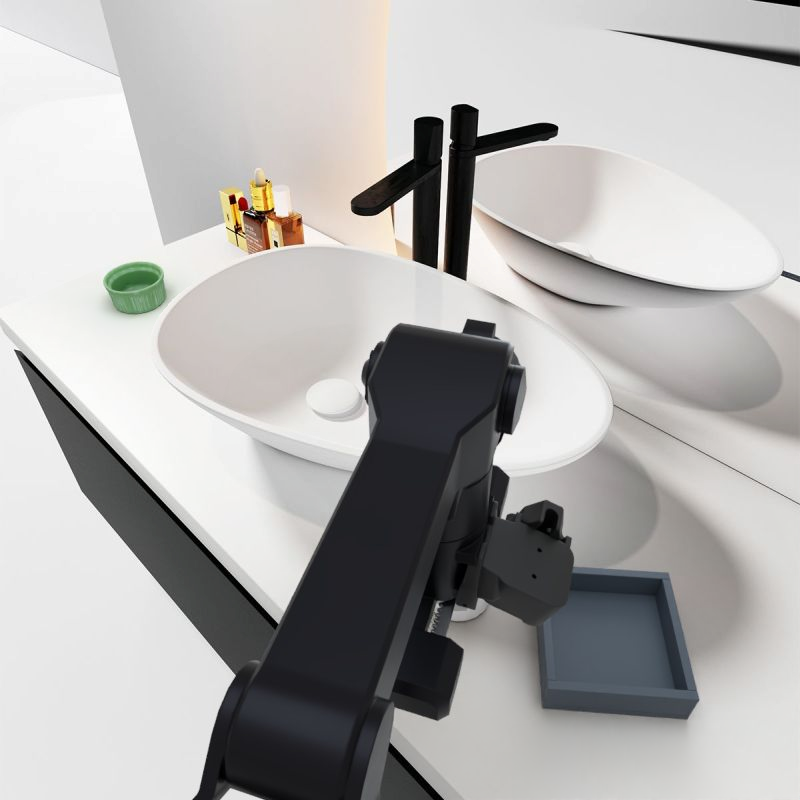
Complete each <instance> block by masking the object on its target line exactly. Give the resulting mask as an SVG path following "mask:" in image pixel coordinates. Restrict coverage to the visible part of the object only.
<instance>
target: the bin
mask: <svg viewBox="0 0 800 800" xmlns="http://www.w3.org/2000/svg"><path fill="white" fill-rule="evenodd" d="M535 628H536V638H537V639H536V640H537V652H538V666H539V667H538V669H539V680H540V694H541V695H540V696H541V697H540V698H541V708H542V709H546V710H556V711H557V710H558V711H571V712H583V713H584V712H587V713H597V714H610V715H611V714H612V715H624V716H639V717H650V718H662V719H664V718H665V719H677V720H688V719H689V718H690V716H691V715H692V713H693V711H694V709H695V708H696V706H697V705H698V703H699V702H700V696H699V693H698V688H697V685H696V679H695V677H694V676H695V675H694V671H693V667H692V664H691V660H690V655H689V651H688V647H687V643H686V639H685V634H684V630H683V626H682V622H681V618H680V614H679V610H678V605H677V600H676V597H675V593H674V589H673V585H672V580H671V576H670V573H669V572H665V571H649V570H635V569H634V570H633V569H619V568H618V569H617V568H605V567H600V568H599V567H587V566H586V567H585V566H573V571H572V578H571V584H570V590H569V596H568V601H567V603H566V604H565V605H564V606H563V607H562V608H561V609H560V610H558V611H557V612H556V613H555V614H554V615H552V616H551V617H550V618H549V619H547V620H546V621H545V622H544V623H543V624H541V625H540V626H535Z"/></svg>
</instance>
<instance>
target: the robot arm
mask: <svg viewBox="0 0 800 800" xmlns="http://www.w3.org/2000/svg"><path fill="white" fill-rule="evenodd" d="M496 329H497V323H495V322H491V321H484V320H480V319H479V320H478V319H471V318H466V321H465V323H464V327H463V329H462V332H458V331H457V332H456V331H451V330H445V329H439V328H433V327H428V326H422V325H416V324H410V323H405V322H404V323H403V322H399V323H397V324H396V325H395V326H394V327H392V328H391V329H390V331H389V332H388V334H387V336H386V338H385V340H384V341H383V340H380V341H378V342H377V343H376V345H375V347H374V348H373V349H371V351H370V352H369V357H368V359H366V360H365V362H364V363H363V366H362V370H361V375H360V377H361V379H360V380H361V383H362V384H363V386H364V400H365V403H366V405H367V408H368V436H369V437H368V438H369V439H368V441H367V442H366V445H365V446H364V449H363V451H362V453H361V455H360V457H359V459H358V461H357V463H356V465H355V467H354V469H353V472H352V473H351V476H350V477H349V480H348V482H347V484H346V486H345V488H344V490H343V491H342V494H341V496H340V498H339V500H338V502H337V503H336V506H335V508H334V510H333V512H332V514H331V516H330V518H329V520H328V522H327V525H326V526H325V529H324V531H323V532H322V535H321V537H320V539H319V541H318V543H317V545H316V547H315V549H314V551H313V553H312V555H311V557H310V559H309V561H308V563H307V565H306V568H305V570H304V572H303V574H302V576H301V578H300V580H299V582H298V584H297V586H296V588H295V590H294V592H293V594H292V596H291V598H290V600H289V602H288V604H287V606H286V608H285V610H284V612H283V614H282V616H281V619H280V621H279V623H278V625H277V627H276V629H275V630H274V633H273V635H272V636H271V639H270V641H269V642H268V645H267V647H266V649H265V651H264V653H263V655H262V657H261V660H257V659H254V660H248V661H247V662H245V664H244V665H243V666H241V668H240V669H238V671H237V673H236V674H235V676H234V677H233V679H232V681H231V683H230V684H229V686H228V687H227V690H226V692H225V694H224V696H223V699H222V701H221V703H220V705H219V708H218V711H217V714H216V716H215V721H214V723H213V727H212V730H211V735H210V740H209V742H208V748H207V753H206V757H205V762H204V765H203V770H202V775H201V780H200V784H199V788H198V791H197V793H196V794H195V795H194V797H193V798H192V799H191V800H222V798H223V797H224V796H225V795H226V794H228V792H229V791H230V789H231V790H235V791H238V792H240V793H244V794H246V795H249V796H252V797H255V798H258V799H261V800H383V799H382V796H381V786H382V781H383V776H384V771H385V766H386V761H387V758H388V757H387V756H388V752H389V747H390V742H391V737H392V731H393V726H394V720H395V709H398V710H401V711H403V712H407V713H410V714H414V715H417V716H421V717H423V718H426V719H429V720H433V721H436V722H439V721H440V720H442V719H444V718H446V717H447V716H450V713H451V709H452V705H453V701H454V697H455V694H456V690H457V686H458V682H459V679H460V676H461V672H462V671H461V670H462V667H463V661H464V653H465V650H464V648H463V647H462V646H461V645H459V644H458V643H457V642H456V641H455V640H453V639H452V638H451V637H448V636H447V635H448V631H449V627H450V625H451V622H452V620H451V618H452V614H453V611H454V608H455V604H456V605H458V606H461V607H465V608H468V609H472V610H475V609H476V605H477V601H478V598H480V599H483V600H484V601H485V602H487V603H488V605H490V606H491V607H493V608H496V609H498V610H500V611H503V612H504V613H506V614H508V615H510V616H512V617H515V618H516V619H519V620H521V622H523V623H524V624H525V625H527V626H530V627H536V626H540V625H541V624H543V623H544V622H545V621H546V620H547V619H549V618H550V617H551V616H552V615H554V614H555V613H556V612H557V611H558V610H560V609H561V608H562V607H563V606H564V605H565V604H566V603H567V601H568V596H569V590H570V584H571V578H572V571H573V567H574V564H575V555H574V552H573V550H572V548H571V546H572V540H573V537H571V536H569V535H566V536H564V534H563V527H564V518H565V517H564V515H565V514H564V513H565V509H564V507H563V506H562V505H561V506H560V505H558V504H556V503H554V502H552V501H550V500H548V499H544V500H540V501H537V502H534V503H531V504H528V505H525V506H524V507H522V509H521V510H520V511H517V512H515V513H512V512H511V513H508V514H507V515H506V517H505V519H504V518H502V516H503V512H504V509H505V505H506V500H507V498H508V493H509V487H510V479H511V478H510V475H508V473H506V472H505V471H504V470H503V469H502V468H501V467H500V466H498V465H497V464H494V459H495V458H494V457H495V454H496V450H497V447H498V446H499V445H500V443H501V442H502V440H503V437H504V436H505V435H510V436H512V435H513V434H514V432H515V429H516V428H517V426H518V424H519V422H520V419H521V416H522V411H523V407H524V403H525V400H526V399H525V398H526V395H527V371H526V369H527V368H526V366H523V365H521V363H520V361H519V357H518V356H517V354H516V352H515V351H514V350H515V346H514V344H513V343H512V342H511V341H508V340H503V339H501V338H500V337H498V336H496ZM437 601H441V602H439V607H441V608H437V612H439V613H435V612H434V609H435V606H436V603H437ZM434 614H435V618H433V616H434ZM432 619H433V623H432V625H431V622H432ZM430 625H431V629H430V631H429V628H430Z"/></svg>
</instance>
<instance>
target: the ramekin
mask: <svg viewBox="0 0 800 800" xmlns="http://www.w3.org/2000/svg"><path fill="white" fill-rule="evenodd" d="M164 278H165V273H164V270H163V268H162V267H161V266H160V265H159V264H157V263H154V262H152V261H151V262H150V261H132V262H127V263H123V264H120V265H118V266H116V267H114V268H112V269H111V270H110V271H108V272H107V273H106V274H105V276H104V277H103V281H102V283H103V286H104V288H105V290H106V291H107V293H108V295H109V297H110V300H111V302H112V305H113V306H114V308H115V309H116V310H117V311H119V312H121V313H125V314H142V313H146V312H150V311H153V310H155V309H157V308H158V307H159V306H160V305H161V304H163V303H164V301H165V299H166V297H167V293H166V286H165V285H166V284H165V281H164V280H165V279H164Z"/></svg>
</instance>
